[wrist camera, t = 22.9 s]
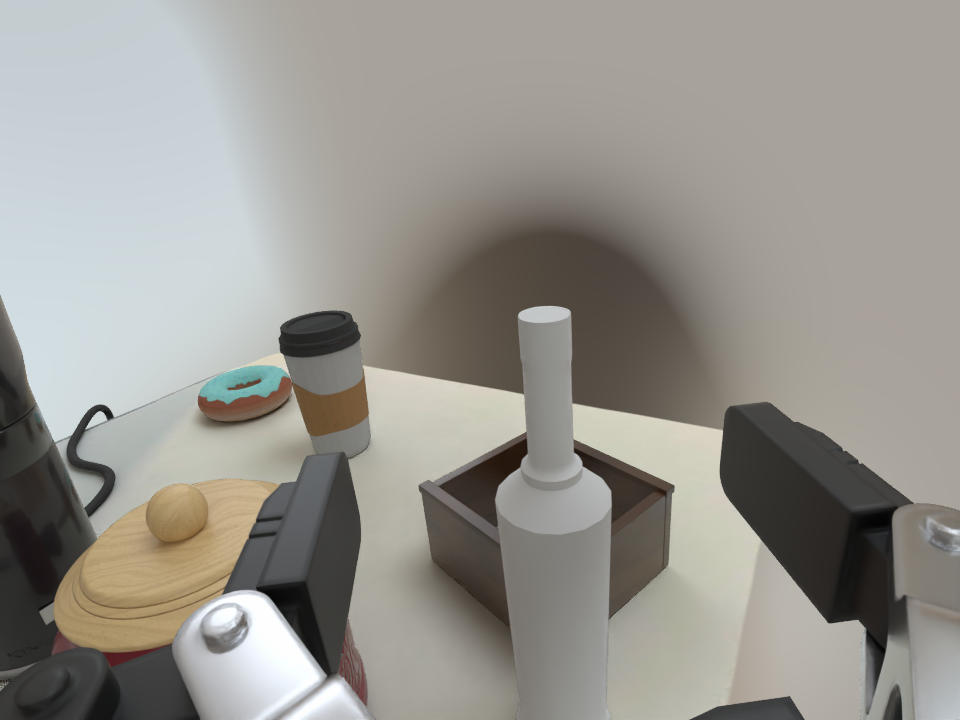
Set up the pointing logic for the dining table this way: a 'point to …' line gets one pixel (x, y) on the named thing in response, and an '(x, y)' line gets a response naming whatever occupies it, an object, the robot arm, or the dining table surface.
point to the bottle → (555, 541)
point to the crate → (475, 539)
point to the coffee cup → (328, 380)
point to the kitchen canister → (165, 573)
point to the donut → (245, 393)
